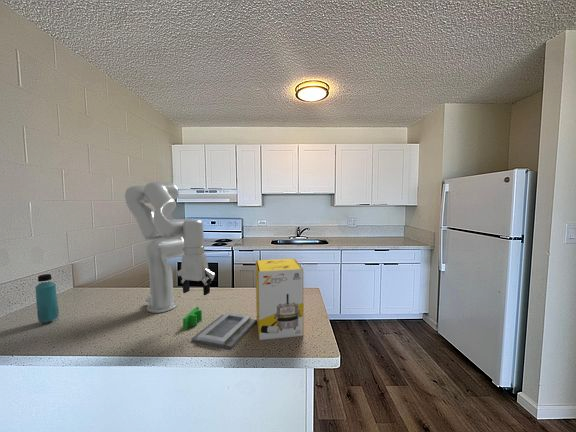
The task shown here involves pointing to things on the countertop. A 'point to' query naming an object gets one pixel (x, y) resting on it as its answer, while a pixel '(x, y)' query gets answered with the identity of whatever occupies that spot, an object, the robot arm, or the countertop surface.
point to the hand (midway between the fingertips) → (196, 293)
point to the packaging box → (279, 298)
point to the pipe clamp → (192, 318)
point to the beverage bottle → (46, 299)
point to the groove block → (225, 330)
